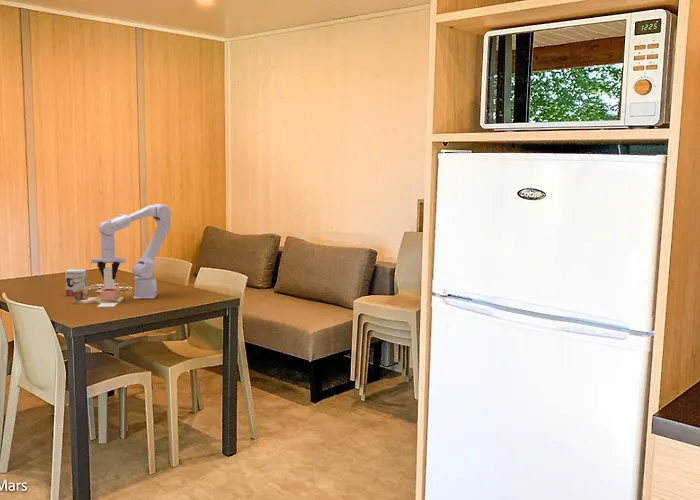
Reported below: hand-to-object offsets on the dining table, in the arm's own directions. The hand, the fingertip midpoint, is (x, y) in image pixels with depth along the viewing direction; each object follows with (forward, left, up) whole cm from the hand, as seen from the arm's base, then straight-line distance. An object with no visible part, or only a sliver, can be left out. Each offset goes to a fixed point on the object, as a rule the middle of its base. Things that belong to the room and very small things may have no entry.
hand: (109, 279), depth 293 cm
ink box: (+19, -16, -10) cm, 27 cm away
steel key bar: (0, 0, -4) cm, 4 cm away
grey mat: (-1, +9, -10) cm, 14 cm away
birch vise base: (+5, 0, -10) cm, 11 cm away
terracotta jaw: (0, 0, -9) cm, 9 cm away
